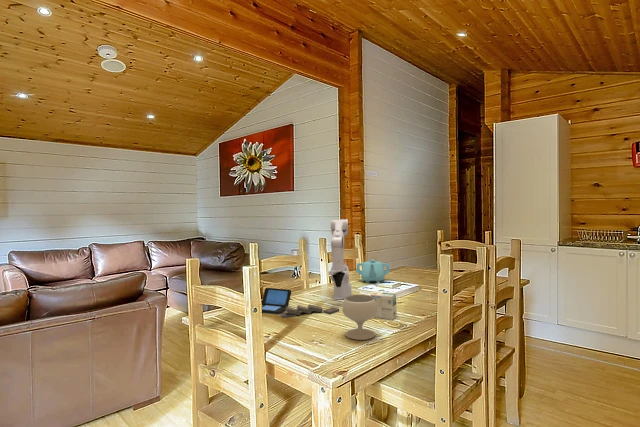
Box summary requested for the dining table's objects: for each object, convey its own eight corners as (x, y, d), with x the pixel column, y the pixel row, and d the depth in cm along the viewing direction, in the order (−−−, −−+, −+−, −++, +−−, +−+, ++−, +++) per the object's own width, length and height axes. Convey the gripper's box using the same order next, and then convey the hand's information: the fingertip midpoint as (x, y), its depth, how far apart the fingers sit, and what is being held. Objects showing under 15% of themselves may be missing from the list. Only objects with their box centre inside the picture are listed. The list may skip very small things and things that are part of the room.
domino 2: (294, 311, 181) (280, 313, 179) (296, 314, 177) (282, 316, 175) (294, 315, 181) (280, 316, 179) (296, 317, 177) (282, 319, 175)
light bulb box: (396, 315, 175) (396, 292, 174) (393, 320, 168) (393, 296, 168) (374, 313, 179) (374, 290, 179) (370, 317, 173) (370, 294, 172)
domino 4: (321, 307, 186) (308, 304, 185) (322, 309, 182) (310, 306, 181) (320, 310, 186) (308, 307, 185) (322, 312, 182) (309, 309, 180)
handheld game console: (252, 312, 187) (251, 293, 186) (265, 304, 199) (265, 287, 199) (280, 315, 181) (279, 296, 180) (292, 307, 193) (291, 289, 193)
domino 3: (310, 308, 184) (297, 305, 183) (311, 310, 180) (298, 307, 179) (309, 311, 184) (296, 308, 183) (310, 314, 180) (297, 310, 179)
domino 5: (332, 307, 186) (323, 310, 182) (339, 309, 183) (329, 312, 179) (332, 310, 186) (323, 313, 182) (339, 312, 183) (329, 315, 179)
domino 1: (298, 309, 182) (286, 306, 180) (300, 312, 178) (288, 308, 176) (297, 312, 182) (284, 309, 180) (299, 315, 178) (287, 312, 176)
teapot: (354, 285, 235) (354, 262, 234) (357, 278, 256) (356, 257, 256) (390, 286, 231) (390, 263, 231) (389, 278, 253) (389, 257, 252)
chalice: (353, 344, 142) (352, 305, 141) (337, 332, 155) (336, 296, 154) (384, 337, 148) (384, 300, 147) (366, 326, 160) (365, 292, 160)
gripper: (339, 257, 199) (339, 283, 200) (323, 262, 187) (323, 288, 188) (350, 258, 195) (351, 284, 196) (335, 263, 183) (335, 290, 184)
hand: (338, 286), depth 192 cm, fingers closed
